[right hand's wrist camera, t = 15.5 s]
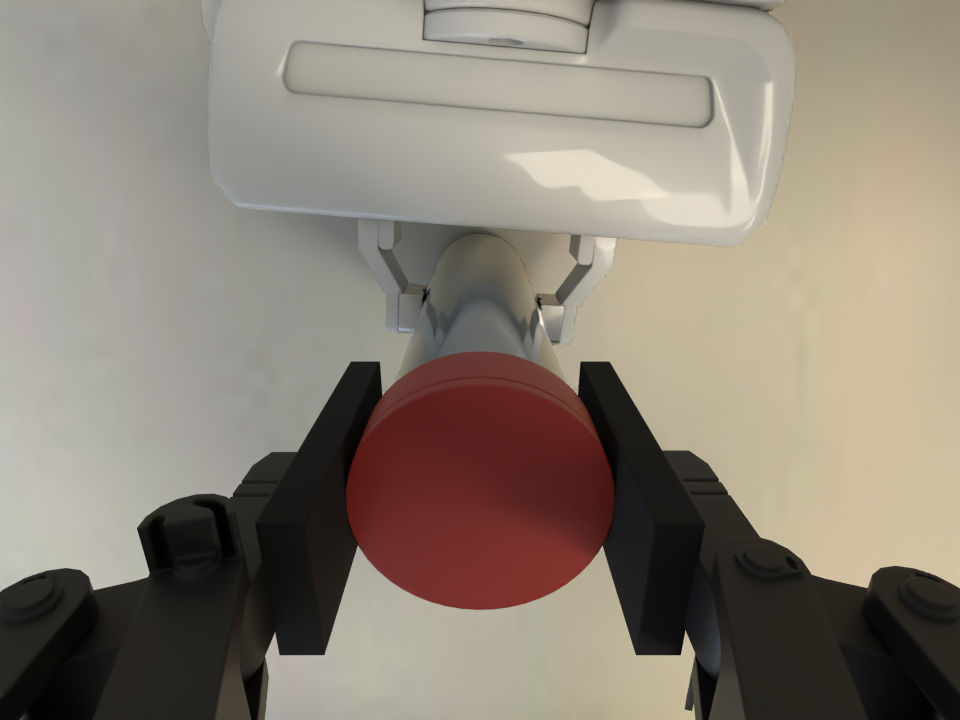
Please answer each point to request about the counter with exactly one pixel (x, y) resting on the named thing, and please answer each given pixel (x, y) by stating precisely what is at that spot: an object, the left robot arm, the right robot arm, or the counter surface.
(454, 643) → the counter surface
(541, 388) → the lid
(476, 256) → the grey cylinder
